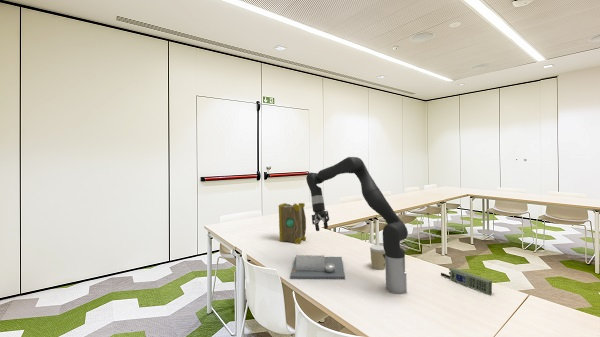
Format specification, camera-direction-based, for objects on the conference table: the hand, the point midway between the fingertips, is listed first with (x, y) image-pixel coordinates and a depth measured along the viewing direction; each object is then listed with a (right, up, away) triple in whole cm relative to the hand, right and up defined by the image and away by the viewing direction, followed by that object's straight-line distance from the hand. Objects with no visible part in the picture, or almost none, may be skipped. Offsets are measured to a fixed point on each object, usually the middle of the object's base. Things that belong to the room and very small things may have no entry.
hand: (321, 229), depth 171 cm
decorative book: (-19, -21, +54) cm, 61 cm away
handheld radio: (+70, -22, -28) cm, 79 cm away
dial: (-4, -21, -9) cm, 23 cm away
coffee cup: (+34, -22, -3) cm, 40 cm away
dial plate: (-3, -23, -2) cm, 23 cm away
